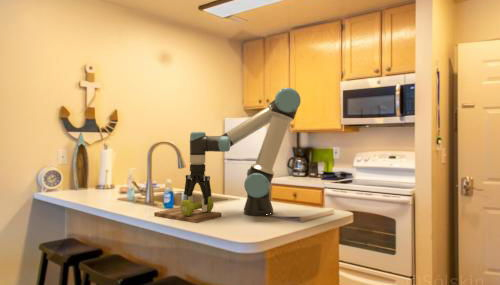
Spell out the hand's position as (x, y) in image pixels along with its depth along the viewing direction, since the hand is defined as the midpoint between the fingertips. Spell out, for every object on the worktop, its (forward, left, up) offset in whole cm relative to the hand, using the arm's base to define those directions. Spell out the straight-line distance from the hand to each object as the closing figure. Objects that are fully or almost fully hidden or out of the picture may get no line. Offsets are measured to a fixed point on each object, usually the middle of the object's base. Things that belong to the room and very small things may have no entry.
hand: (197, 210), depth 179 cm
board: (+6, 0, -4) cm, 7 cm away
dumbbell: (0, 0, -2) cm, 2 cm away
